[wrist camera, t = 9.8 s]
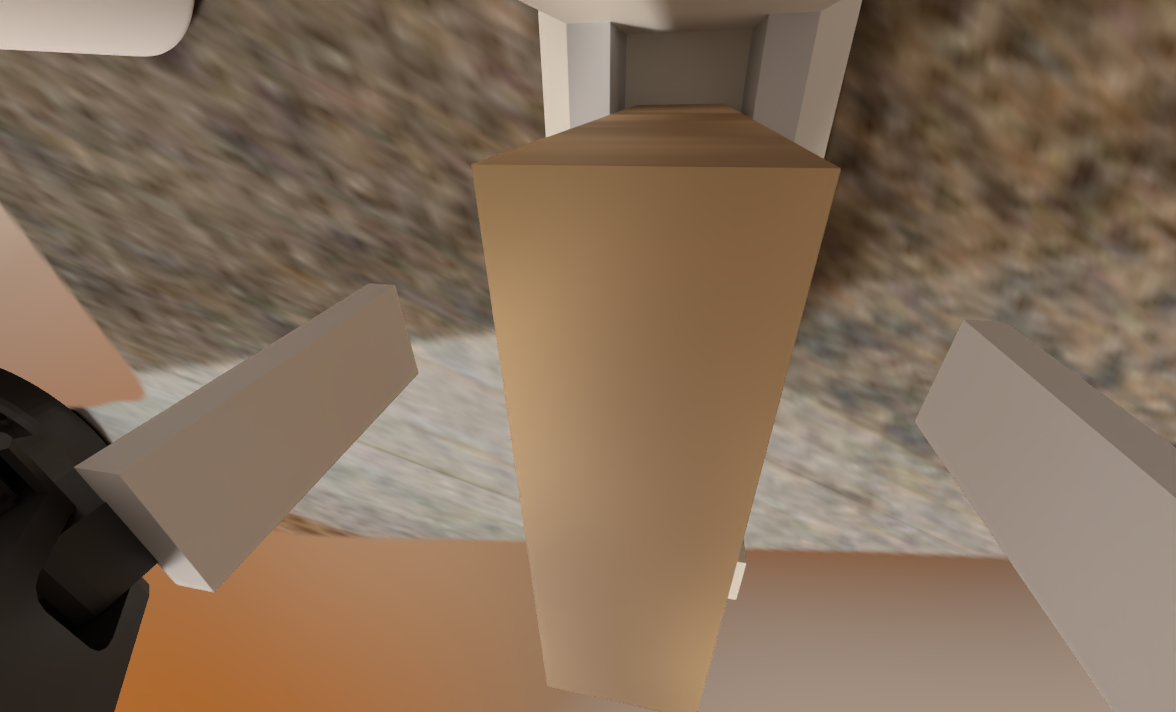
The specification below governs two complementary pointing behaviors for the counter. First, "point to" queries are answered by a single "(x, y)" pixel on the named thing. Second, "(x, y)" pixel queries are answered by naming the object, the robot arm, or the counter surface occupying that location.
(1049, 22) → the counter surface
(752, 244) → the door panel
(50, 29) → the beverage can
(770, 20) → the door track
